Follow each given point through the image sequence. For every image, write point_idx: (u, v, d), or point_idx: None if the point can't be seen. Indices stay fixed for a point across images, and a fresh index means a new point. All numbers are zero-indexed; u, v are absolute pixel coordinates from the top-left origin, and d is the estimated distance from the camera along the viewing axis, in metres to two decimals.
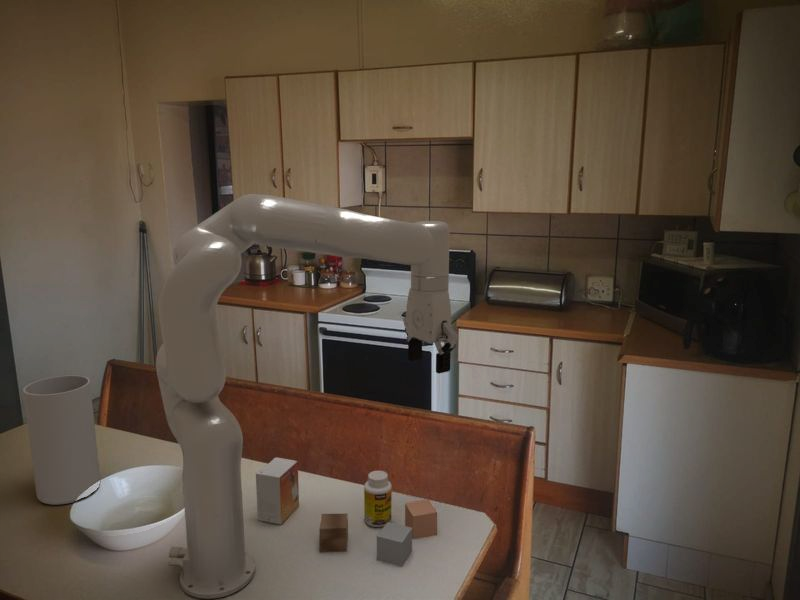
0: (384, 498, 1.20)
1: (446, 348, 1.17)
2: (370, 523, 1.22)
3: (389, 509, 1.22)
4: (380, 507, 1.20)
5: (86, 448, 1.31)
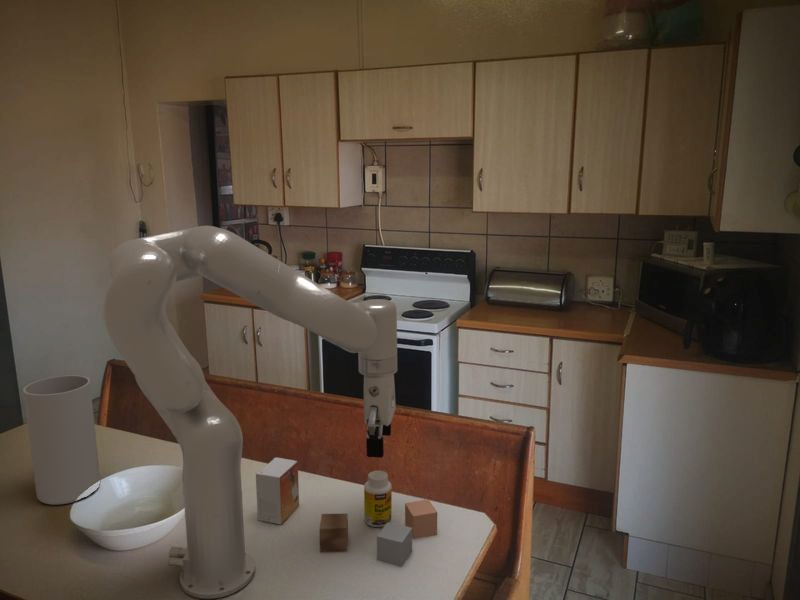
0: (384, 498, 1.20)
1: None
2: (370, 523, 1.22)
3: (389, 509, 1.22)
4: (380, 507, 1.20)
5: (86, 448, 1.31)
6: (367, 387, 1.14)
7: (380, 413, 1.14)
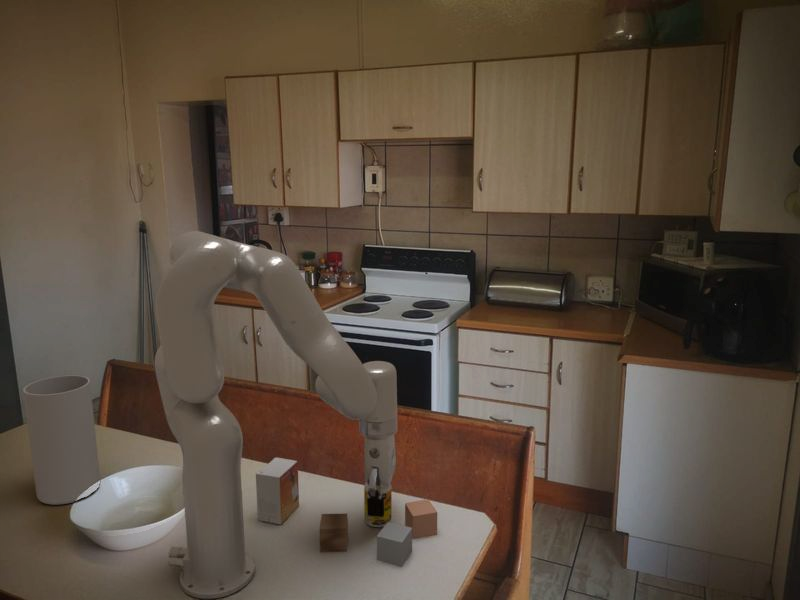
0: (384, 498, 1.20)
1: None
2: (370, 523, 1.22)
3: (389, 509, 1.22)
4: None
5: (86, 448, 1.31)
6: (368, 449, 1.16)
7: (381, 474, 1.16)
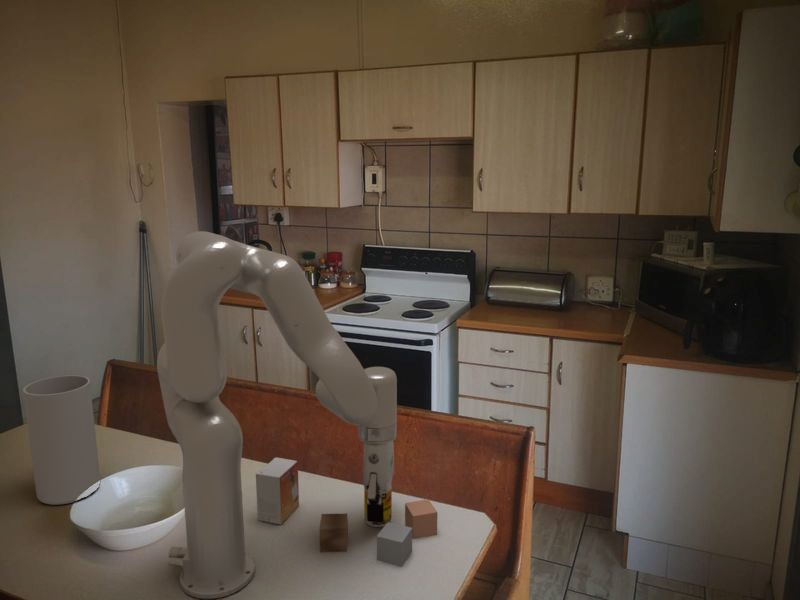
0: (384, 497, 1.20)
1: None
2: (370, 523, 1.22)
3: (389, 509, 1.22)
4: None
5: (86, 448, 1.31)
6: (367, 454, 1.16)
7: (380, 480, 1.17)
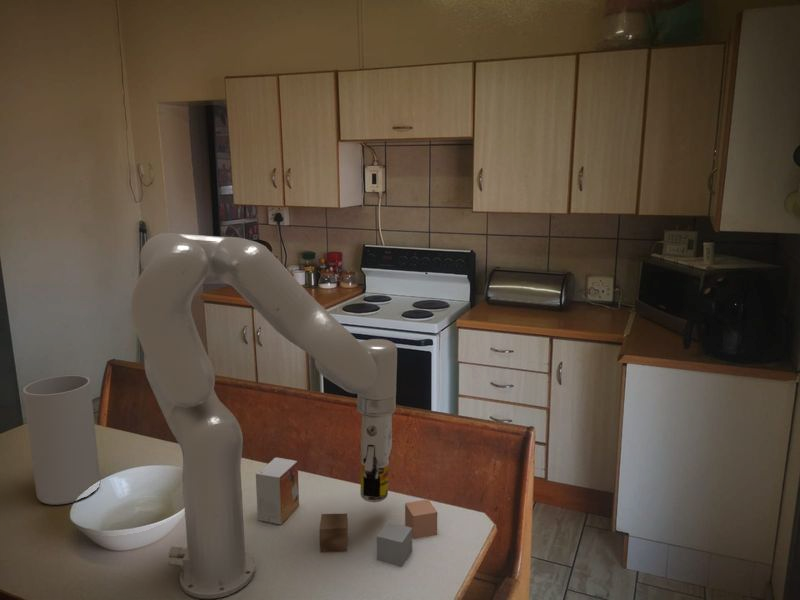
0: (381, 472, 1.19)
1: None
2: (366, 498, 1.20)
3: (386, 484, 1.20)
4: None
5: (86, 448, 1.31)
6: (365, 426, 1.15)
7: (377, 453, 1.15)
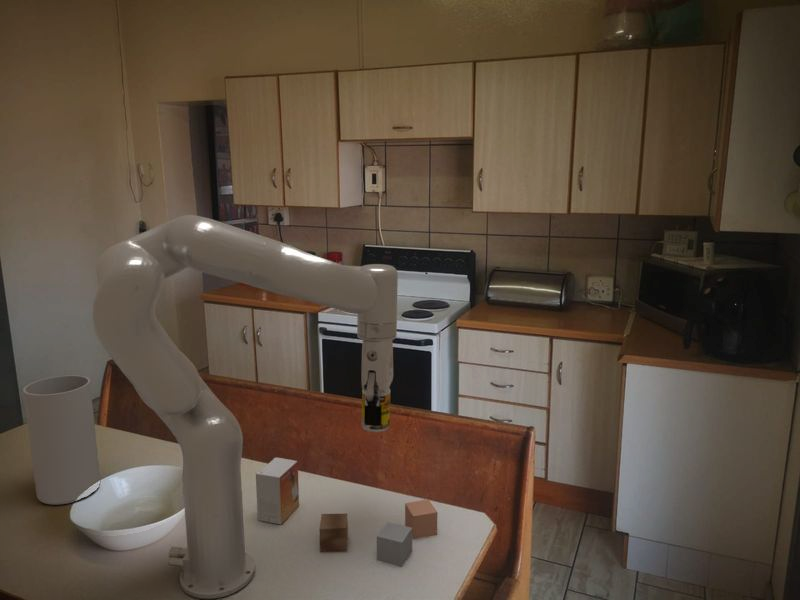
0: (383, 400, 1.16)
1: None
2: (367, 428, 1.17)
3: (387, 414, 1.18)
4: None
5: (86, 448, 1.31)
6: (365, 351, 1.12)
7: (378, 379, 1.12)
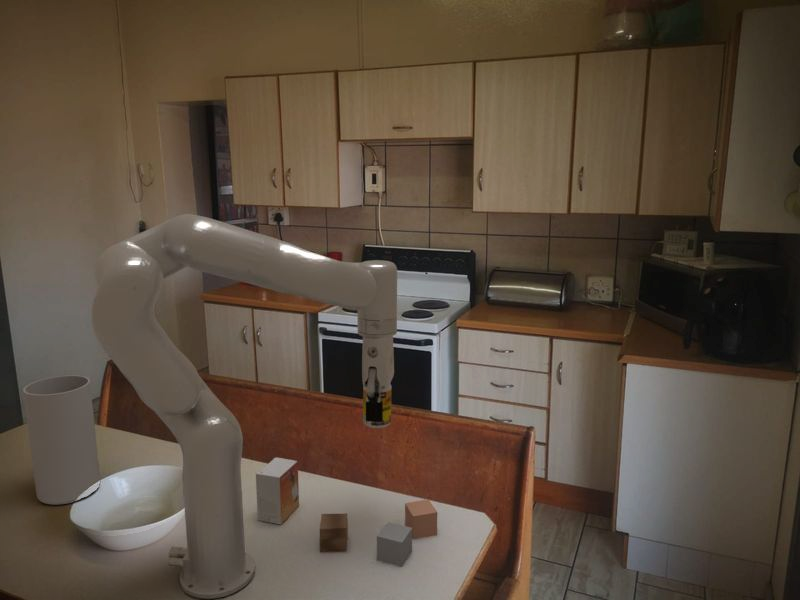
0: (384, 396, 1.16)
1: None
2: (369, 424, 1.17)
3: (389, 410, 1.18)
4: None
5: (86, 448, 1.31)
6: (366, 348, 1.12)
7: (379, 375, 1.12)
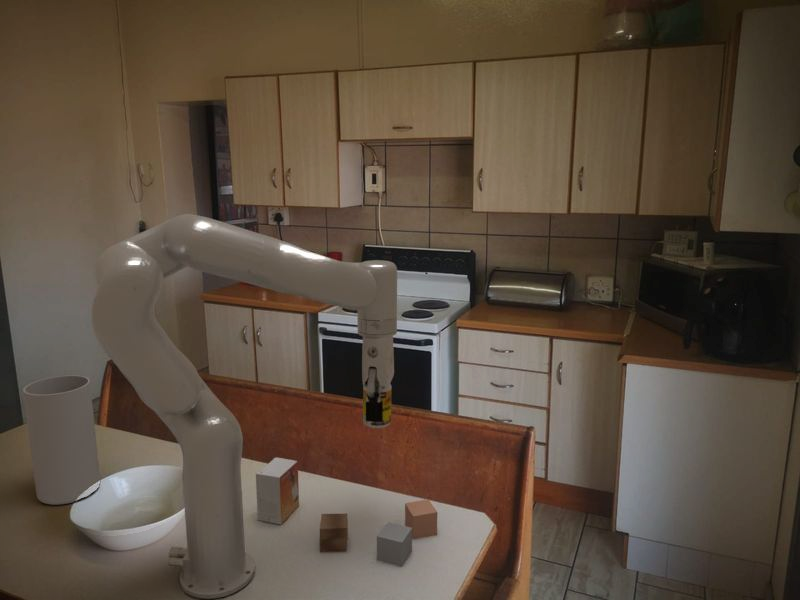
0: (384, 396, 1.16)
1: None
2: (369, 424, 1.17)
3: (389, 410, 1.18)
4: None
5: (86, 448, 1.31)
6: (366, 348, 1.12)
7: (379, 375, 1.12)
